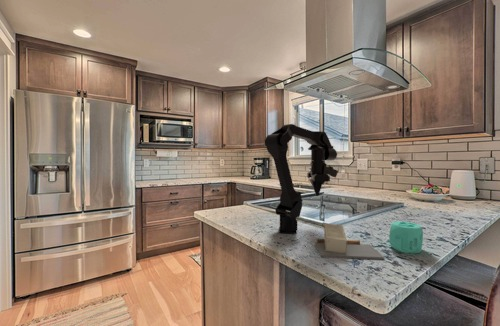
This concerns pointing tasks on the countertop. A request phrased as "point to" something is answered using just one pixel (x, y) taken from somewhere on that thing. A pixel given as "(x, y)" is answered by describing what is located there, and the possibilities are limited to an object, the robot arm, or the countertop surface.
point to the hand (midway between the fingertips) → (317, 195)
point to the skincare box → (335, 238)
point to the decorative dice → (406, 237)
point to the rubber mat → (351, 252)
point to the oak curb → (347, 241)
